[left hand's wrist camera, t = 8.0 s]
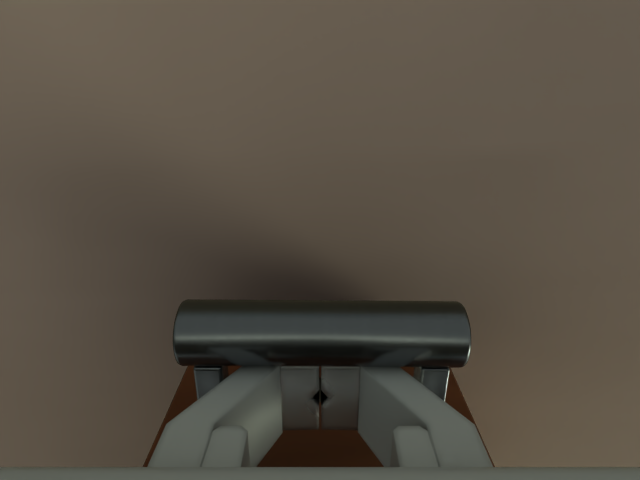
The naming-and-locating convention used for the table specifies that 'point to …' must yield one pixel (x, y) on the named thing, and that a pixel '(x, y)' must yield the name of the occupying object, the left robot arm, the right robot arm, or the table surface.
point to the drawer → (319, 357)
